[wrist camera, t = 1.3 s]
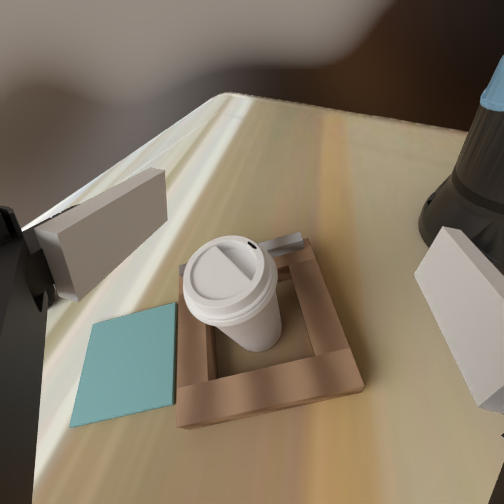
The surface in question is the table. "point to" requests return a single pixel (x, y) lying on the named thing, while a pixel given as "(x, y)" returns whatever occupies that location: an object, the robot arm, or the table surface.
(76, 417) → the pad
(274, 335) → the coffee cup
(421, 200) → the table surface
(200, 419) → the cup holder
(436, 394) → the table surface
